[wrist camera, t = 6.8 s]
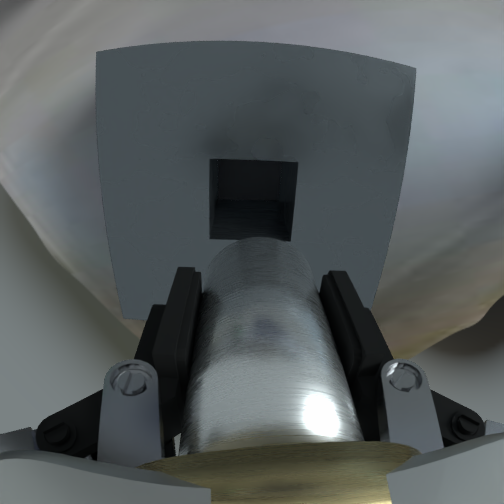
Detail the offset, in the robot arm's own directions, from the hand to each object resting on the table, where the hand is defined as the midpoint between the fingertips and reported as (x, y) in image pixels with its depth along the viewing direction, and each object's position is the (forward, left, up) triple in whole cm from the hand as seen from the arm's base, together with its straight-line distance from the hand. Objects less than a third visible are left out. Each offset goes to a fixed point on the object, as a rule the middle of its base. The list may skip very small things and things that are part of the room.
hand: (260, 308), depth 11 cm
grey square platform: (0, 0, -19) cm, 19 cm away
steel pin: (0, 0, -1) cm, 1 cm away
